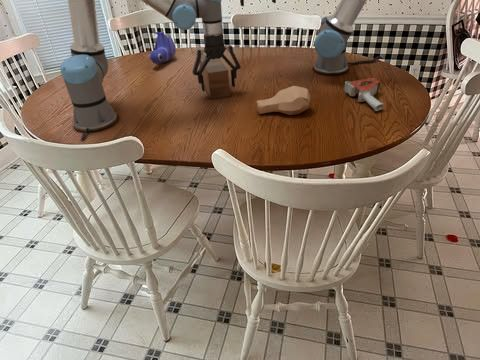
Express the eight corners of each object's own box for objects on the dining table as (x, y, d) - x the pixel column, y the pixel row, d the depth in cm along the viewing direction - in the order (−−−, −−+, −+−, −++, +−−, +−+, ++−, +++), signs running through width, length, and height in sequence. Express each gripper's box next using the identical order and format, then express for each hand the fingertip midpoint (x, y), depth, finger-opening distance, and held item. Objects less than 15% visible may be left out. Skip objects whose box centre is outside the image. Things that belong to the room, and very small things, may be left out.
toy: (164, 64, 198) (143, 70, 176) (159, 31, 191) (137, 33, 169) (180, 63, 196) (162, 69, 173) (176, 30, 189) (156, 32, 167)
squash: (314, 116, 128) (313, 95, 122) (259, 125, 130) (256, 105, 124) (308, 99, 136) (307, 78, 129) (257, 108, 138) (253, 88, 131)
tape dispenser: (379, 117, 128) (393, 93, 140) (382, 104, 124) (396, 81, 137) (332, 106, 135) (349, 84, 148) (334, 93, 132) (351, 72, 144)
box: (230, 96, 147) (228, 70, 140) (210, 99, 145) (207, 73, 139) (218, 76, 166) (216, 53, 160) (201, 79, 165) (198, 55, 158)
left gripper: (241, 27, 139) (244, 81, 152) (180, 35, 135) (188, 89, 148) (246, 32, 133) (249, 87, 146) (182, 40, 129) (190, 96, 142)
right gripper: (284, -61, 139) (283, -1, 151) (222, -56, 135) (226, 5, 147) (291, -60, 133) (289, 2, 145) (226, -55, 129) (230, 8, 141)
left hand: (218, 88), depth 147 cm, fingers open, 12 cm apart
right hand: (258, 4), depth 146 cm, fingers open, 13 cm apart
